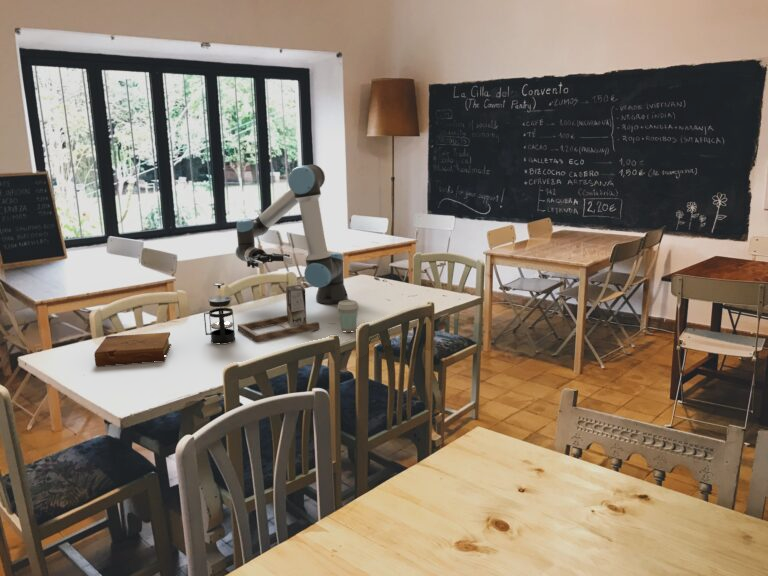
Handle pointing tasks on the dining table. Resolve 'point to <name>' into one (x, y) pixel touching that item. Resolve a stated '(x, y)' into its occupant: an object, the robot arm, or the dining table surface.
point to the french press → (220, 319)
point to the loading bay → (277, 333)
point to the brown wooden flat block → (132, 349)
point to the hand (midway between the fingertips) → (276, 263)
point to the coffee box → (296, 305)
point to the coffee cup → (348, 315)
